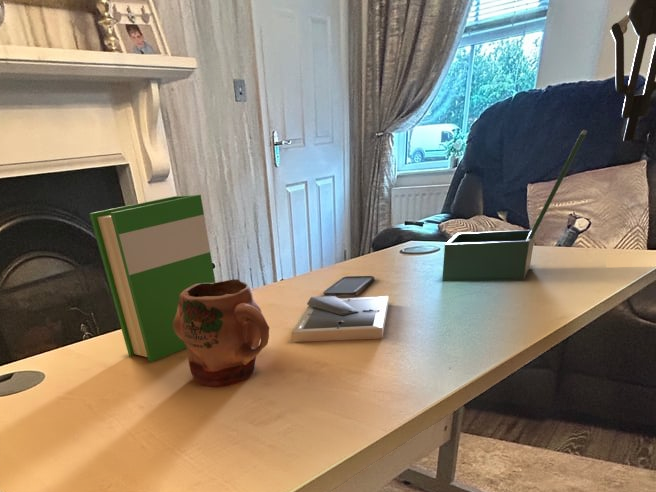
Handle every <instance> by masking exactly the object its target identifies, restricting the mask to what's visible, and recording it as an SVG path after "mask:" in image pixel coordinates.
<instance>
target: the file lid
mask: <svg viewBox="0 0 656 492" xmlns="http://www.w3.org/2000/svg"><path fill="white" fill-rule="evenodd" d="M587 133H588V130H586V129H583V130H582V131H581V133H580V134H579V136H578V138H577V139H576V142H575V143H574V146H573V147H572V149H571V151H570V154H569V156H568V158H567V159H566V162H565V164H564V166H563V167H562V169H561V172H560V173H559V175H558V178H556V179H557V180H556V182H555V183H554V185H553V188H552V190H551V191H550V193H549V196H548V197H547V199H546V201H545V203H544V205H543V207H542V209H541V211H540V213H539V215H538V217H537V219H536V220H535V223H534V225H533V227H532V229H531V230H532V231H531V233H530V235H529V237H528V238H529V239H532V238H533V236H534V234H535V235H536V233H537V231H538V228H539V227H540V225H541V223H542V221H543V218H544V217H545V215H546V213H547V212H548V209H549V207H550V206H551V203H552V201H553V199H554V197H555V196H556V193H557V192H558V190H559V187H560V186H561V184H562V182H563V180H564V178H565V176H566V174H567V173H568V171H569V168H570V166H571V164H572V162H573V160H574V158H575V157H576V155H577V152H578V151H579V149H580V147H581V145H582V142H583V141H584V139H585V137H586V135H587Z"/></svg>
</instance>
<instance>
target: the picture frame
mask: <svg viewBox="0 0 656 492" xmlns="http://www.w3.org/2000/svg"><path fill="white" fill-rule="evenodd" d="M306 305H307V307H306V309H305V311H304V312H303V314H302V315H301V317H300V319H299V321H298V323H297V324H296V325H295V327H294V329H293V330H292V332H291V333H292V342H293V343H299V342H300V343H303V342H324V341H349V340H373V339H383V336H384V331H385V325H386V320H387V314H388V309H389V295H379V296H363V297H361V296H360V297H344V298H339V297H335V296H326V297H324V296H310V298H309V299H308V301H307V303H306Z"/></svg>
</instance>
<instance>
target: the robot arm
mask: <svg viewBox="0 0 656 492" xmlns="http://www.w3.org/2000/svg"><path fill="white" fill-rule="evenodd" d="M629 23H630V24H631V26H632V28H633V30H634V33H635V35H636V36H637V37H638V40H637V44H636V49H635V53H634V58H633V62H632V66H631V71H630V75H629V80H628V84H625V38H624V37H625V36H624V35H625V34H627V31H628V24H629ZM610 33H611V35H612V38H613V40H614V43H615V44H614V45H615V46H614V47H615V48H614V49H615V91H616V92H617V93H619V94H622V95H624V97H625V98H624V101H623V102H624V103H623V106H622V111H621V112H622V113H621V118H622V119H623V120H624V119H627V122H626V126H625V131H624V135H623V140H622V141H623V142H628V141H630V142H631V141H634V138H635V135H636V134H635V133H636V129H637V125H638V121H639V117H646V115H647V113H648V110H649V107H650V102H651V97H652V94H653V93H654V92H655V91H656V39H654V40H655V41H654V45H653V49H652V53H651V58H650V63H649V67H648V71H647V75H646V79H645V84H644V89H643V92H642V93H641V94H635V93H636V89H637V86H638V85H637V84H638V80H639V77H640V71H641V66H642V62H643V58H644V55H645V50H646V45H647V42H648V37H650V36H652V35H655V36H656V0H633V1H632V4H631V6H630V7H629V9H628V12H627V14H626V15H625V16H624V17H622V18H621V19H620V20H619V21H618V22H614V23H613V24H612V25H611V28H610Z"/></svg>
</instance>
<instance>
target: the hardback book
mask: <svg viewBox="0 0 656 492" xmlns="http://www.w3.org/2000/svg"><path fill="white" fill-rule="evenodd" d="M203 206H204V205H203V201H202V195H201V194H190V195H189V194H188V195H174V196H169V197H164V198H159V199H154V200H149V201H144V202H140V203H134V204H128V205H124V206H119V207H115V208H110V209H105V210H100V211H95V212H89V218H90V221H91V225H92V228H93V229H92V230H93V232H94V235H95V239H96V242H97V247H98V250H99V254H100V257H101V260H102V264H103V268H104V271H105V275H106V278H107V282H108V286H109V289H110V293H111V297H112V301H113V304H114V308H115V311H116V314H117V319H118V321H119V325H120V330H121V332H122V336H123V339H124V343H125V347H126V350H127V354H128V356H129V357H134V356H141V357H144V358H147V361H148V362H149V363H153V362H155V361H157V360H161V359H163V358H166V357H168V356H170V355H173V354H175V353H178V352H181V351H183V350H185V349H187V347H186V344H185V343H184V341H183V340H182V339H181V338H179V337H178V335H177V334H176V332H175V330H174V327H173V322H174V318H175V316H176V313H177V309H178V303H179V296H180V294H181V293H182V291H184V290H185V289H187V288H189V287H191V286H192V285H195V284H202V283H215V282H216V278H215V272H214V266H213V261H212V254H211V248H210V244H209V236H208V230H207V225H206V218H205V211H204V207H203Z"/></svg>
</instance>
